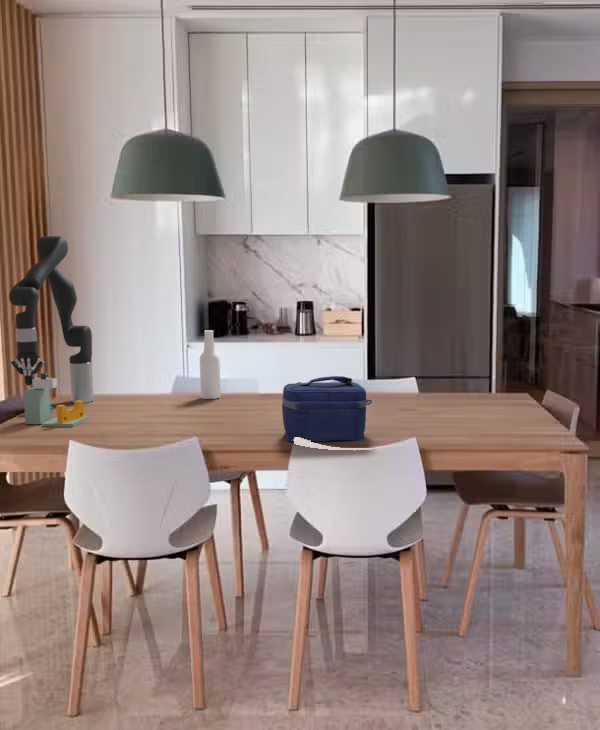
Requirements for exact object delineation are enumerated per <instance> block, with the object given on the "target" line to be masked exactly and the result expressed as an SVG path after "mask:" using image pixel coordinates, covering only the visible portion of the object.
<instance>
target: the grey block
mask: <svg viewBox="0 0 600 730" xmlns="http://www.w3.org/2000/svg"><path fill="white" fill-rule="evenodd" d="M32 388H49V389H55V388H58V382H57V377H48V372H42V373H40V377H35V378H34V379H32Z"/></svg>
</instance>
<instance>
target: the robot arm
mask: <svg viewBox="0 0 600 730" xmlns="http://www.w3.org/2000/svg"><path fill="white" fill-rule="evenodd" d="M36 249H37V254H38V256H39V259H40V260H39V261H37V262H36V263H34V264H33V265H32V266H31V267H30V269H29V270H28V271H27V272H26V275H25V276H24V277H23V278H22V279H21V280H19V281H18V282H17V283H16V284H15V285H14V286H13V287H11V289H10V290H9V294H8V300H9V303H11V304H12V305H13V306H15V307H25V309H24V311H22V312H17V313H16V314H15V341H16V343H15V344H16V353H17V354H16V358H15V359H14V360H11V365H12V366H13V367H14V369H15V370H16V371H17V372H18V374H19V375H23V376H24V383H25V385H26V386H28V387H29V386H33V384H32V379H35V378H34V375H36V374H38V373H39V372H40V370H41V369H42V368H43V366H44V365H45V363H46V361H45V360H42V359H41V358H40V355H39V348H38V333H37V328H36V314H37V310H38V309H37V308H38V304H39V300H40V295H39V290H40V289H41V287H42V286H43V284H45V281H46V279H47V280H48V282H49V286H50V290H51V293H52V298H53V300H54V303H55V306H56V309H57V314H58V317H59V321H60V326H61V331H62V336H63V340H64V342H65V344H66V345H67V347H71V348H74V347H75V348H79V352H78V353H76V354H72V355H70V356H69V359H68V360H69V374H70V375H69V376H70V377H69V378H70V393H71V403H75V401H77V400H80V401H83V404H85V403H91V401H92V402H93V401H94V382H93V367H92V366H93V364H92V358H93V357H92V356H93V334H92V330H91V327H90V326H88V325H74V323H73V319H72V314H73V313H74V312H73V311H74V309H75V307H76V305H77V300H78V298H77V297H78V296H77V292H76V290H75V289H76V288H75V286H74V283H73V282H72V281H71V279H70V278H69V277H68V276H67V275H66V274H65V272H63V271H62V269H60V268H59V267H58V265H59V264H60V263H61V262H62V261H63V260H65V257H66V256H67V254H68V252H69V251H68V250H69V246H68V242H67V239H66V238H65V237H63V236H60V235H53V236H49V235H47V236H40V237H38V238H37V241H36ZM36 364H37V365H36Z"/></svg>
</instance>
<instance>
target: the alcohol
mask: <svg viewBox="0 0 600 730" xmlns="http://www.w3.org/2000/svg"><path fill="white" fill-rule="evenodd" d="M203 347H204V348H203V352H202V353H201V354H200V356H199V377H200V378H199V379H200V380H199V381H200V397H201V399H202V400H205V399H214V400H218V399H217V398H219V399H221V397H222V393H221V392H222V390H221V389H222V387H221V358H220V356H219V354H218V352H217V351H216V348H215V339H214V330H211V329H209V330H208V329H207V330H206V329H205V330H204V343H203Z"/></svg>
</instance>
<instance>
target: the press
mask: <svg viewBox="0 0 600 730" xmlns="http://www.w3.org/2000/svg"><path fill="white" fill-rule="evenodd" d="M50 400H51V399H50V388H33V387H30V388H27V389H25V390H23V402H24V403H23V405H24V407H23V408H24V420H25V422H24V423H25V425H26V424H42V425H41V426H55V427H54V428H74V427H76V426H77V424H78V425H80V424H82V423H83V422H85V421H87V420H89V415H84V417H83V418H79V419H76V420H72V421H69V422H65V423H57V416H55V417H53V418H52V415H51V413H50V402H51V401H50ZM81 422H82V423H81ZM79 423H80V424H79ZM75 425H76V426H75ZM60 426H61V427H60Z"/></svg>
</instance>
